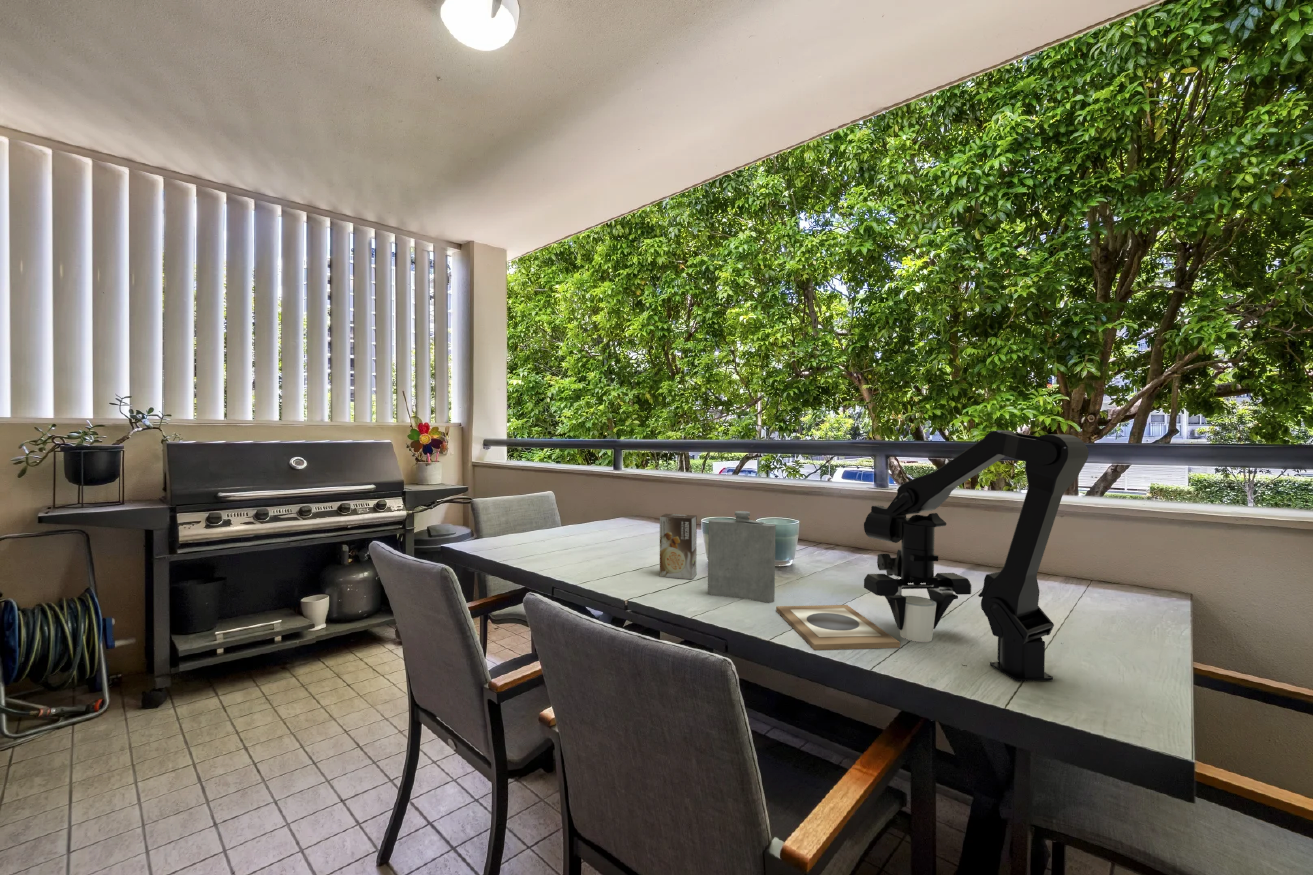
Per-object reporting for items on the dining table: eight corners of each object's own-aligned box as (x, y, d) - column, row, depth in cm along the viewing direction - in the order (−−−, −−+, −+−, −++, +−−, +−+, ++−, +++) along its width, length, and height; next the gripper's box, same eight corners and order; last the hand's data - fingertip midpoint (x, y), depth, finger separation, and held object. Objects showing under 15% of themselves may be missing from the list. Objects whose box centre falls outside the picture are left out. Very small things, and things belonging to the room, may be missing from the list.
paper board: (899, 647, 103) (900, 640, 103) (814, 649, 102) (814, 642, 102) (847, 609, 125) (847, 603, 125) (776, 610, 124) (776, 604, 124)
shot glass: (940, 644, 105) (941, 607, 105) (900, 641, 106) (901, 604, 106) (930, 631, 112) (931, 596, 112) (893, 629, 113) (893, 593, 113)
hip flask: (705, 594, 135) (706, 510, 135) (711, 590, 139) (712, 508, 139) (772, 603, 129) (774, 515, 129) (776, 598, 133) (777, 512, 132)
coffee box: (697, 574, 154) (698, 514, 154) (692, 579, 148) (692, 518, 148) (665, 571, 157) (665, 513, 157) (658, 576, 151) (658, 516, 151)
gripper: (938, 538, 118) (937, 614, 118) (851, 539, 116) (850, 616, 116) (974, 550, 107) (972, 633, 107) (878, 551, 105) (877, 635, 105)
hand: (916, 628), depth 109 cm, fingers closed on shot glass, 6 cm apart
